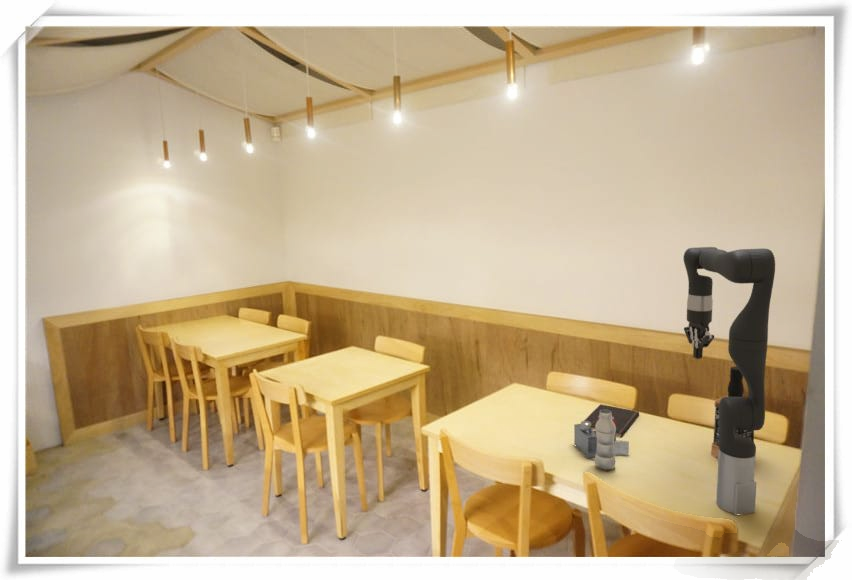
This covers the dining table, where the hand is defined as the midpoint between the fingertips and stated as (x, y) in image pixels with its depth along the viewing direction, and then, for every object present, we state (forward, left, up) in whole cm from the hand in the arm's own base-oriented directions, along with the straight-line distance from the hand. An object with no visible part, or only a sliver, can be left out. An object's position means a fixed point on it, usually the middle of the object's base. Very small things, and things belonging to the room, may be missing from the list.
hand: (697, 357), depth 185 cm
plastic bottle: (0, +33, -35) cm, 48 cm away
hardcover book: (+32, +14, -36) cm, 50 cm away
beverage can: (+12, +26, -35) cm, 46 cm away
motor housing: (+12, +29, -35) cm, 47 cm away
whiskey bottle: (-5, -11, -35) cm, 37 cm away
